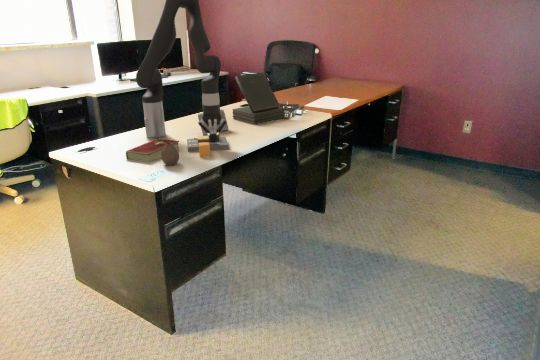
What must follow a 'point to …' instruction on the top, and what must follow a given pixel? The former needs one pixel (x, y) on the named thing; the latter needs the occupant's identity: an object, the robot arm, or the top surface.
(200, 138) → the block
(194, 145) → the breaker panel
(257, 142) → the top surface
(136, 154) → the hardcover book
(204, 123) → the digital clock
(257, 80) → the angled tablet stand
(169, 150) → the vase
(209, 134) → the block
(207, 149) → the orange rectangular block
